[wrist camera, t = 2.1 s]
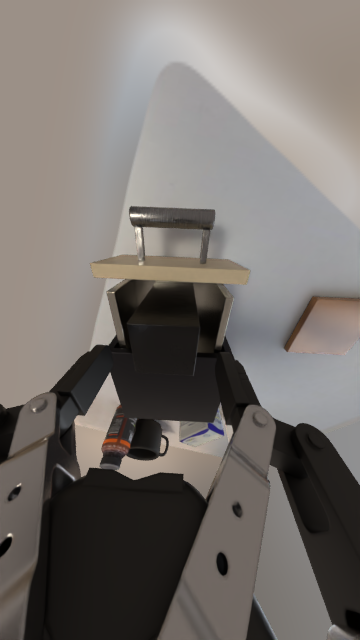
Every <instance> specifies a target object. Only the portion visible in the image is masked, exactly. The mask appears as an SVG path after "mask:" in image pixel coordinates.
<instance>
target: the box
mask: <svg viewBox="0 0 360 640" xmlns="http://www.w3.org/2000/svg"><path fill="white" fill-rule="evenodd" d="M222 436H224V431H223V426H222V421H221V416H220V411H219V408H218V411H217V414H216V417H215V420H214V423H206V422H190V421H180V431H179V441H180V442H182V443H184V444H187V445H190V446H193V447H197V446H200V445H202V444H205V443H207V442H210V441H212V440H215V439H217V438H220V437H222Z"/></svg>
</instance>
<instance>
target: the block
mask: <svg viewBox="0 0 360 640" xmlns="http://www.w3.org/2000/svg"><path fill="white" fill-rule="evenodd" d="M127 328H128V333H129V339H130V344H131V349H132V355H133V360H134V365H135V371H136V373H154V374H172V375H190V376H194V370H195V363H196V355H197V348H198V340H199V333H200V323H199V317H198V310H197V304H196V298H195V292H194V285H193V284H173V283H154V285H153V286H152V288H151V289H150V291H149V292H148V293H147V295H146V296H145V298H144V299H143V301H142V302H141V304H140V305H139V306H138V308H137V309H136V311H135V312H134V314H133V315H132V317H131V318H130V319H129V321H128V322H127Z"/></svg>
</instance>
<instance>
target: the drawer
mask: <svg viewBox="0 0 360 640" xmlns="http://www.w3.org/2000/svg"><path fill="white" fill-rule="evenodd" d="M129 215H130V221H131V224H132V225H133V226H134V227H135V236H136V245H137V254H138V255H119V256H116V257H112V258H108V259H104V260H101V261H97V262H93V263H90V265H91V269H92V273H93V276H94V277H95V278H115V279H125V280H123V281H122V282H120V283H119V284H117V285H116V286H114V287H113V288H111V289H110V290H108V291H107V296H108V300H109V305H110V309H111V313H112V317H113V321H114V325H115V329H116V334H117V338H118V342H119V346H120V348H126V349H131V344H130V339H129V333H128V328H127V322H128V321H129V319H130V318H131V317H132V315H133V314H134V312H135V311H136V309H137V308H138V306H139V305H140V304H141V302H142V301H143V299H144V298H145V296H146V295H147V293H148V292H149V291H150V289H151V288H152V286H153V285H154V283H173V284H193V285H194V292H195V298H196V304H197V310H198V317H199V323H200V333H199V340H198V348H197V352H201V353H219V352H221V348H222V344H223V340H224V336H225V332H226V328H227V324H228V320H229V316H230V312H231V308H232V304H233V300H234V297H233V296H232V295H231V293H230V292H229V291H228V290H227V288H226V287H225V286H224V285H223V284H243V285H246V284H247V281H248V278H249V274H250V270H248V269H246V268H244V267H242V266H240V265H238V264H236V263H234V262H232V261H230V260H228V259H207V252H208V244H209V236H210V230H212V229H213V226H214V221H215V210H211V209H186V208H161V207H137V206H131V207H130V209H129ZM143 227H156V228H180V229H203V233H202V243H201V252H200V258H183V257H161V256H145V248H144V236H143Z"/></svg>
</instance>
